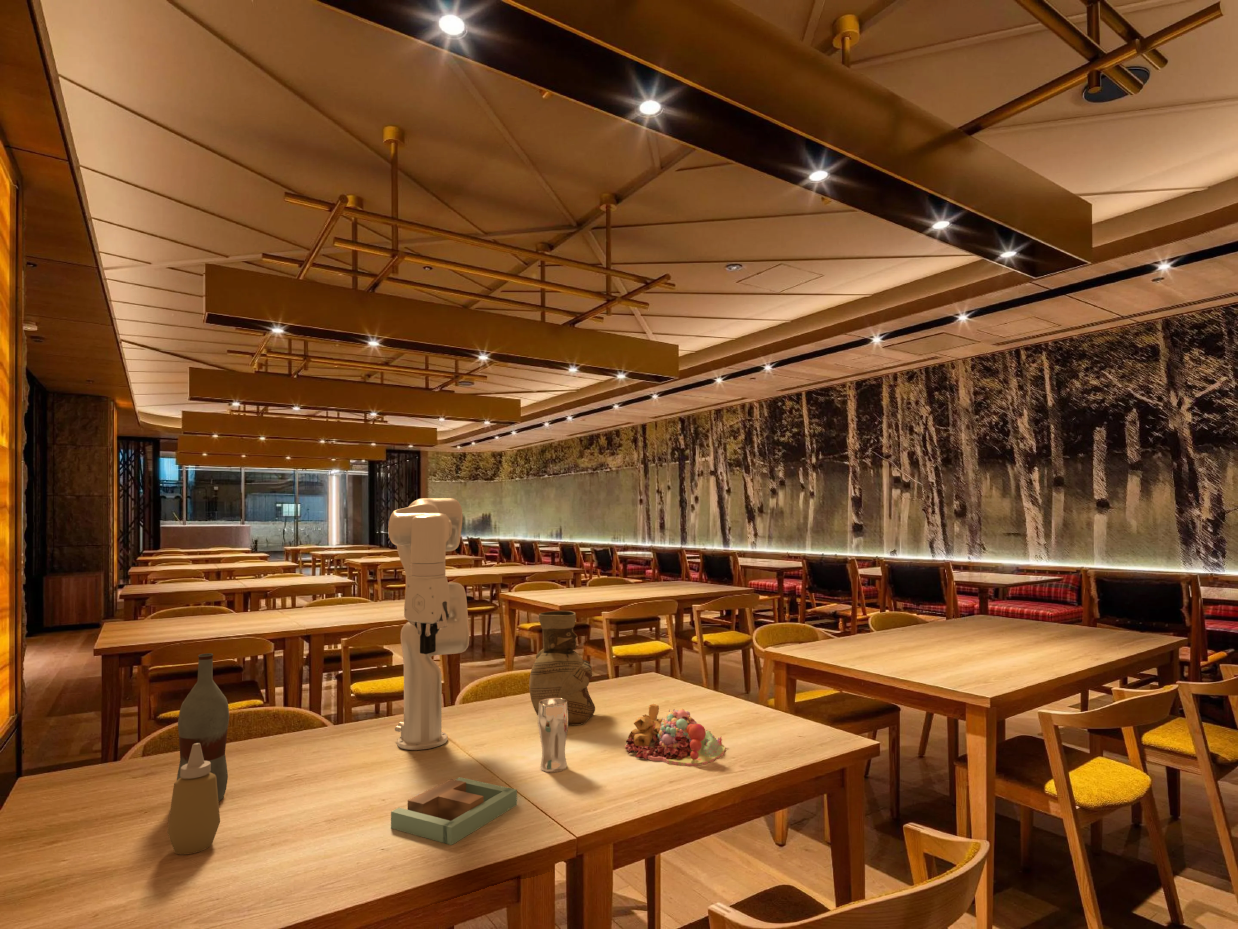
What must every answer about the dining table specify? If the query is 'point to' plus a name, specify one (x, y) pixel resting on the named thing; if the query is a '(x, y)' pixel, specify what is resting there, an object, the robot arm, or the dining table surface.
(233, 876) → the dining table surface
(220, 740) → the vodka
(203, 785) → the squeeze bottle
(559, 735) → the beer glass
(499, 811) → the frame
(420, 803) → the t block
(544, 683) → the ceramic vessel
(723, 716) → the dining table surface
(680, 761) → the pastel sphere sculpture
